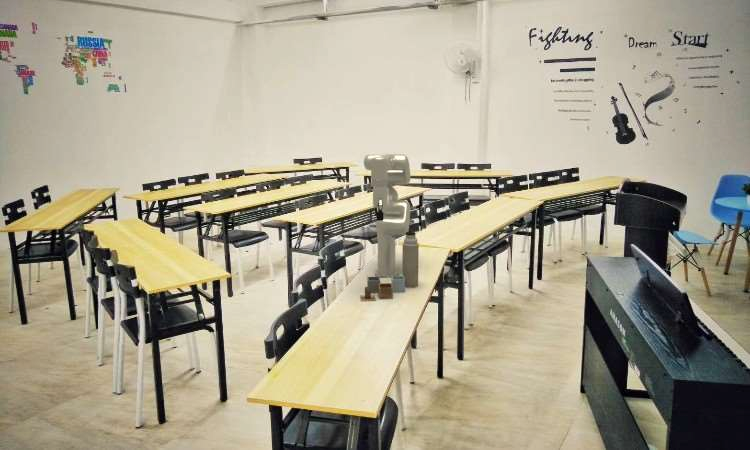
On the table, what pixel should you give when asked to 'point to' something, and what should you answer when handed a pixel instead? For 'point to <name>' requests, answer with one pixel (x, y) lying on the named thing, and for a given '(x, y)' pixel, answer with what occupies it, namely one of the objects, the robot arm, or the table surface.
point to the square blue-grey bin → (398, 283)
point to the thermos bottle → (410, 260)
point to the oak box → (385, 291)
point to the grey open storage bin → (373, 283)
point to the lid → (367, 295)
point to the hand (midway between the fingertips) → (379, 218)
